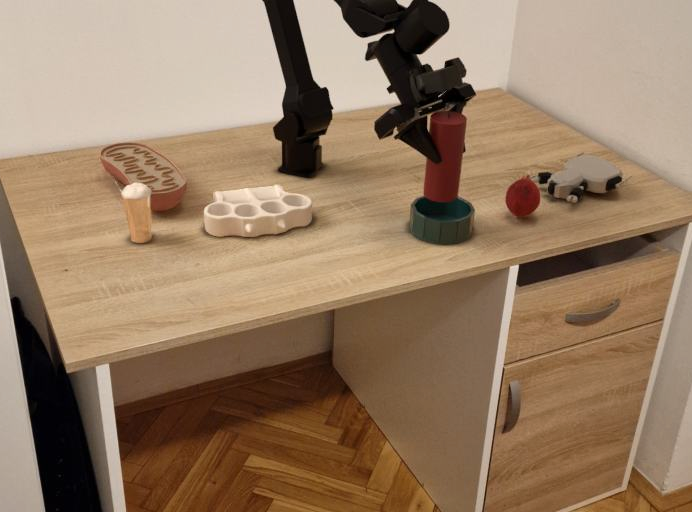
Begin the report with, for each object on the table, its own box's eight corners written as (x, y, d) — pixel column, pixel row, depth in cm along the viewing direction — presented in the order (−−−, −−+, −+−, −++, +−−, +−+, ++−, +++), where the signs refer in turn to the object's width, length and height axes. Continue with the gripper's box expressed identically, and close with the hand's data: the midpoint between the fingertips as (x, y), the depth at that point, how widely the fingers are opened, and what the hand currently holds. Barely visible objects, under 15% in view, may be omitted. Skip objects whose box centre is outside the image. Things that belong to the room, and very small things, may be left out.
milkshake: (123, 232, 151) (116, 174, 145) (156, 231, 151) (151, 174, 146) (120, 245, 147) (113, 187, 141) (154, 245, 148) (148, 187, 142)
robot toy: (571, 218, 162) (632, 193, 168) (575, 194, 159) (636, 170, 165) (523, 191, 170) (583, 169, 176) (525, 168, 167) (586, 146, 174)
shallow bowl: (401, 236, 152) (403, 213, 150) (421, 211, 160) (423, 189, 158) (461, 249, 149) (464, 226, 147) (478, 223, 157) (481, 200, 155)
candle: (418, 197, 149) (425, 115, 142) (430, 184, 154) (437, 104, 146) (451, 205, 148) (460, 122, 140) (462, 191, 152) (472, 110, 144)
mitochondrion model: (95, 174, 169) (91, 148, 166) (146, 163, 173) (144, 137, 170) (146, 225, 153) (143, 197, 150) (201, 211, 158) (199, 184, 155)
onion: (536, 227, 156) (543, 183, 152) (501, 223, 157) (507, 179, 153) (537, 212, 161) (544, 169, 157) (503, 208, 162) (509, 165, 157)
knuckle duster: (296, 195, 164) (321, 232, 153) (194, 206, 159) (212, 247, 148) (296, 177, 162) (321, 214, 151) (193, 188, 157) (211, 228, 146)
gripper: (393, 55, 134) (444, 150, 134) (473, 30, 145) (521, 119, 145) (351, 93, 143) (400, 183, 143) (430, 68, 154) (475, 151, 154)
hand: (451, 158), depth 146 cm, fingers closed on candle, 5 cm apart
